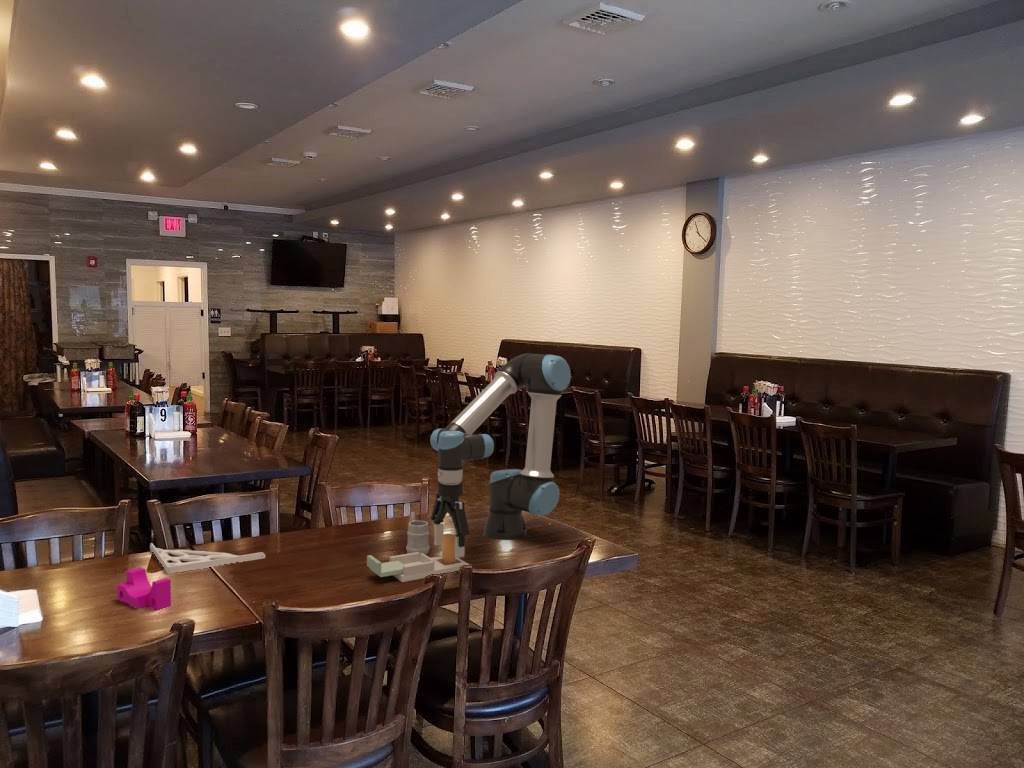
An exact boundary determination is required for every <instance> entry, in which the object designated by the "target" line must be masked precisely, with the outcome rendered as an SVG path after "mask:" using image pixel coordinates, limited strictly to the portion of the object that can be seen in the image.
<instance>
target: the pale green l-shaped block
mask: <svg viewBox="0 0 1024 768" xmlns="http://www.w3.org/2000/svg"><path fill="white" fill-rule="evenodd" d="M403 566H405V565H404V564H402V563H401V562H399V561H392V562H389V561H388V562H386V561H385V562H381V561H380V560H379V559H377V558H376V557H374V556H373V555H371V554H369V555H366V567H368V568H369V569H370V571H372V572H373V573H374V574H376V575H377V576H378V577H380V578H384V577H390V576H393V575H396V574H401V573H403Z"/></svg>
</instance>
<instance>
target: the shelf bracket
mask: <svg viewBox="0 0 1024 768" xmlns="http://www.w3.org/2000/svg"><path fill="white" fill-rule="evenodd" d="M149 550H150V551H151V553H152V552H154V553H152V554H153V555H154V554H155V556H156V557H157V559H158V560H159V562H160V563H161V564H162V566H163V567H164V569H165V570H166V571H167V573H175V572H183V571H188V570H189V571H190V570H196V569H202V570H204V569H203V568H208V569H210V568H209V567H213V568H214V566H215V567H219V565H221V566H225V565H224V564H227V565H231V564H230V563H233V564H237V563H236V562H239V563H243V562H244V561H245V562H250V561H256V560H262V559H265V558H266V554H265V553H264V552H262V551H261V552H255V553H249V554H242V555H239V554H238V555H236V554H233V553H228V552H219V551H218V552H215V551H203V550H190V549H163V548H159V547H156V546H155V545H154V543H152V542H150V544H149ZM169 554H170V555H173V556H170V555H169ZM155 556H154V557H155ZM157 559H156V560H157ZM170 561H171V562H170ZM182 561H184V562H182ZM159 562H158V563H159ZM160 563H159V564H160ZM162 566H161V567H162ZM164 569H163V570H164ZM165 570H164V571H165ZM196 571H197V570H196ZM190 572H191V571H190ZM167 573H166V574H167Z"/></svg>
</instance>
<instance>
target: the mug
mask: <svg viewBox="0 0 1024 768" xmlns="http://www.w3.org/2000/svg"><path fill="white" fill-rule="evenodd" d="M409 516H410V517H409V518H410V519H409V522H408V525H407V526H408V527H407V531H406V534H407V545H406V548H405V549H406V554H409V553H415V552H419V553H423V554H425V555H426V556H427V554H429V553H430V549H431V546H430V542H429V535H430V530H429V522H428V521H426V520H416V515H415V511H412V512H410V515H409Z"/></svg>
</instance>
